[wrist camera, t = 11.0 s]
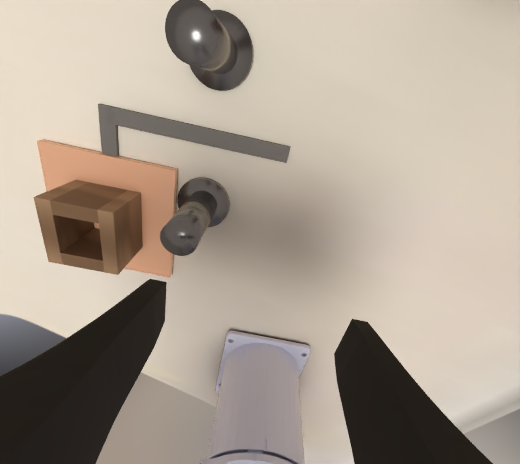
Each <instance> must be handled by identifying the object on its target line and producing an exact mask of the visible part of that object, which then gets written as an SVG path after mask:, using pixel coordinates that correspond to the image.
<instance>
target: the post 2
mask: <svg viewBox="0 0 520 464" xmlns="http://www.w3.org/2000/svg"><path fill="white" fill-rule="evenodd" d="M178 207H179V210H178V211H177V212H176V213H175V215H174V216H173V217H172V218H171V219H170V220H169V221H168V223H167V224H166V225H165V226H164V227H163V228H162V230H161V232H160V240H161V243H162V245H163V246H164V248H165V249H166V250H167V251H169V252H170V253H172V254H175V255H179V256H185V255H189V254H191V253H192V252H193V251H194V250H195V249H196V247H197V245H198V243H199V242H200V240H201V238H202V236H203V234H204V232H205V230H206V228H207V227H212V226H215V225H217V224H219V223H220V222H222V221H223V220H224V218H225V217H226V215H227V213H228V210H229V198H228V195H227V193H226V191H225V189H224V188H223V187H222V186H221V185H220V184H219V183H217V182H216V181H214V180H212V179H209V178H204V177H199V178H194V179H191V180H190V181H188V182H187V183H185V184H184V185H183V187H182V188H181V189H180V191H179V194H178Z"/></svg>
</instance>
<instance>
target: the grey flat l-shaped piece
mask: <svg viewBox="0 0 520 464" xmlns="http://www.w3.org/2000/svg"><path fill="white" fill-rule="evenodd" d="M98 109H99V122H100V134H101V146H102V154H107V155H112V156H116V157H118V156H119V150H118V130H117V125H118V126H123V127H127V128H132V129H136V130H141V131H145V132H150V133H154V134H159V135H163V136H168V137H172V138H177V139H181V140H186V141H190V142H195V143H199V144H204V145H208V146H213V147H217V148H222V149H226V150H231V151H235V152H240V153H244V154H249V155H253V156H258V157H262V158H267V159H271V160H276V161H280V162H285V163H286V162H287V158H288V154H289V150H290V146H285V145H281V144H277V143H272V142H268V141H263V140H259V139H254V138H250V137H245V136H241V135H237V134H232V133H228V132H223V131H219V130H214V129H210V128H205V127H201V126H196V125H192V124H188V123H183V122H179V121H174V120H170V119H165V118H161V117H156V116H152V115H147V114H143V113H139V112H134V111H130V110H125V109H121V108H116V107H112V106H107V105H103V104H98Z"/></svg>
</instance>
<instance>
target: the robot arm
mask: <svg viewBox="0 0 520 464" xmlns="http://www.w3.org/2000/svg"><path fill="white" fill-rule="evenodd" d="M165 303H166V282H163V281H158V280H153V279H149V280H148V281H146V282H145V283H144V284H142V285H141V286H140V287H139V288H137V289H136V290H135V291H133V292H132V293H131V294H130V295H128V296H127V297H126V298H124V299H123V300H122V301H120V302H119V303H118V304H116V305H115V306H114V307H112V308H111V309H109V310H108V311H107V312H105V313H104V314H102V315H101V316H100V317H98V318H97V319H95V320H94V321H93V322H91V323H89V324H88V325H86V326H85V327H83V328H82V329H80V330H79V331H77V332H76V333H74V334H73V335H71V336H70V337H68V338H67V339H65V340H64V341H62V342H61V343H59V344H57V345H56V346H54V347H52V348H51V349H49V350H47V351H45V352H44V353H42V354H41V355H39V356H37V357H35V358H33V359H32V360H30V361H28V362H26V363H25V364H23V365H21V366H19V367H17V368H15V369H14V370H12V371H10V372H8V373H6V374H4V375H3V376H0V464H95V463H96V461H97V459H98V456H99V454H100V452H101V450H102V447H103V445H104V443H105V441H106V438H107V436H108V434H109V432H110V429H111V427H112V425H113V423H114V421H115V419H116V417H117V415H118V413H119V411H120V409H121V407H122V405H123V403H124V402H125V400H126V398H127V396H128V394H129V392H130V390H131V389H132V387H133V385H134V383H135V381H136V380H137V378H138V376H139V374H140V372H141V370H142V369H143V367H144V365H145V363H146V361H147V359H148V357H149V356H150V354H151V352H152V350H153V348H154V346H155V344H156V341H157V339H158V336H159V334H160V332H161V329H162V327H163V324H164V321H165ZM310 352H311V350H310V346H308V345H305V344H300V343H295V342H289V341H284V340H279V339H274V338H269V337H263V336H258V335H253V334H248V333H243V332H237V331H229V332H228V333H227V336H226V341H225V346H224V351H223V355H222V360H221V365H220V370H219V375H218V379H217V384H216V389H215V390H216V392H218V393H219V397H218V402H217V407H216V413H215V417H214V422H213V428H212V433H211V438H210V444H209V448H208V453H207V458H206V459H201V460H200V464H305V463H304V449H303V435H302V422H301V408H300V394H299V381H298V379H299V376H300V374H301V372H302V370H303V368H304V365H305V363H306V361H307V359H308V356H309V354H310ZM334 355H335V367H336V376H337V383H338V388H339V393H340V397H341V402H342V407H343V411H344V416H345V420H346V425H347V429H348V434H349V438H350V443H351V447H352V452H353V457H354V463H355V464H493V463H491V462H490V461H489V460H488V459H487V458H486V457H485V456H484V455H483V454H482V453H481V452H480V451H479V450H478V449H477V448H476V447H475V446H474V445H473V444H472V443H471V442H470V441H469V440H468V439H467V438H466V437H465V436H464V435H463V434H462V432H461V431H460V430H459V429H458V428H457V427H456V426H455V425H454V424H453V423H452V422H451V421H450V420H449V419H448V418H447V417H446V416H445V415H444V414H443V412H442V411H441V410H440V409H439V408H438V407H437V406H436V405H435V403H434V402H433V401H432V400H431V399H430V398H429V397H428V396H427V394H426V393H425V392H424V391H423V390H422V389H421V387H420V386H419V385H418V384H417V383H416V382H415V380H414V379H413V378H412V377H411V376H410V374H409V373H408V372H407V371H406V369H405V368H404V367H403V366H402V365H401V363H400V362H399V361H398V360H397V358H396V357H395V356H394V355H393V353H392V352H391V351H390V349H389V348H388V347H387V346H386V344H385V343H384V342H383V341H382V339H381V338H380V337H379V335H378V334H377V333H376V332H375V330H374V329H373V328H372V327H371V326H370V324H369V323H368V322H365V321H359V320H354V319H352V320H351V322H350V324H349V326H348V328H347V330H346V332H345V334H344V336H343V338H342V340H341V342H340V344H339V346H338V348H337V349H336V351H335V353H334Z"/></svg>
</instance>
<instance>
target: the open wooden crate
mask: <svg viewBox="0 0 520 464" xmlns="http://www.w3.org/2000/svg"><path fill="white" fill-rule="evenodd" d="M34 201H35V205H36V209H37V214H38V218H39V222H40V227H41V231H42V235H43V240H44V244H45V248H46V252H47V257H48V261H49V262H53V263H58V264H64V265H69V266H74V267H80V268H85V269H90V270H96V271H101V272H106V273H112V274H117V275H118V274H119V273H120V272H121V271H122V270H123V269H124V268H125V266H126V265H127V264H128V263H129V262H130V261H131V260H132V259H133V257H134V256H135V255H136V254H137V253H138V252H139V251H140V249H141V248H142V247H143V244H142V205H141V193H140V192H135V191H130V190H125V189H120V188H115V187H110V186H105V185H100V184H95V183H90V182H85V181H80V180H74V181H71V182H69V183H66V184H64V185H62V186H59V187H57V188H55V189H52V190H50V191H47V192H45V193H43V194H40V195H38V196H36V197H34ZM94 223H98V224H99V229H98V228H95V227H94Z"/></svg>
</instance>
